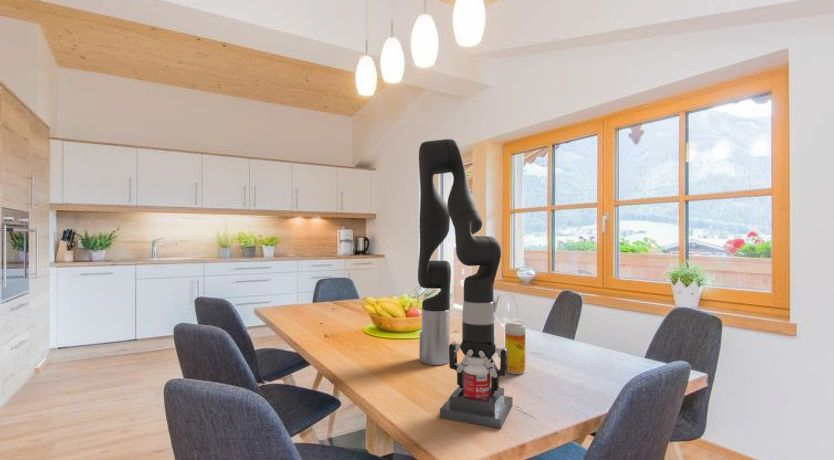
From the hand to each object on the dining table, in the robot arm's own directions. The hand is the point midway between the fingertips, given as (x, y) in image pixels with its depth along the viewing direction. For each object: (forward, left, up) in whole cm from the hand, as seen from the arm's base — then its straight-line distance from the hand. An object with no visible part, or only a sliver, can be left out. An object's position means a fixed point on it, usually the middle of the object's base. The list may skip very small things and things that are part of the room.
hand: (477, 389), depth 102 cm
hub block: (0, 0, -5) cm, 5 cm away
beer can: (+3, +34, -5) cm, 35 cm away
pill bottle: (0, -1, -3) cm, 3 cm away
